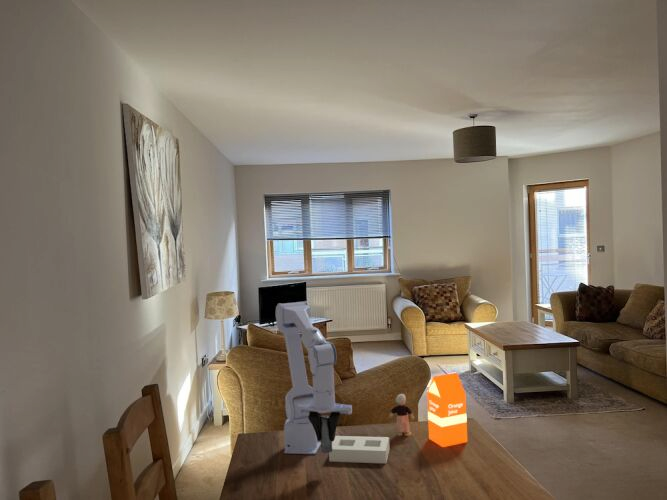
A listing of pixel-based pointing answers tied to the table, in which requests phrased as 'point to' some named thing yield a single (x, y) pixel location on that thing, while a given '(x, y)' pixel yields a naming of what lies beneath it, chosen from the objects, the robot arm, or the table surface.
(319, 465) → the table surface
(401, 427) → the grandmother figurine
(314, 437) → the robot arm
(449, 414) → the orange juice
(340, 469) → the table surface
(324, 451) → the peg
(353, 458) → the hole block
